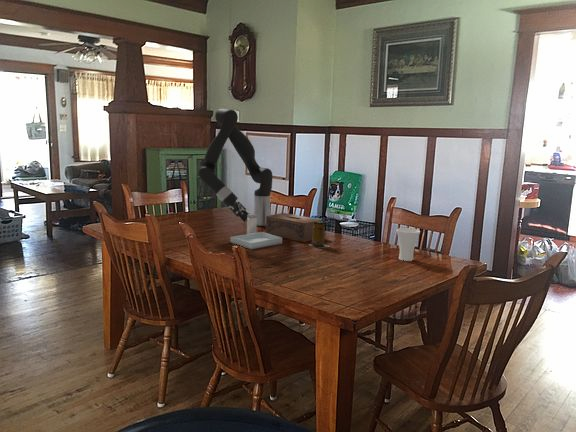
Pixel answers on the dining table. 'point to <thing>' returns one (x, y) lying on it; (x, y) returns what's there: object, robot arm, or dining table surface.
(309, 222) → the tissue box cover
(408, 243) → the cup
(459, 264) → the dining table surface
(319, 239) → the condiment
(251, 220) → the cylinder
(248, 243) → the tray
